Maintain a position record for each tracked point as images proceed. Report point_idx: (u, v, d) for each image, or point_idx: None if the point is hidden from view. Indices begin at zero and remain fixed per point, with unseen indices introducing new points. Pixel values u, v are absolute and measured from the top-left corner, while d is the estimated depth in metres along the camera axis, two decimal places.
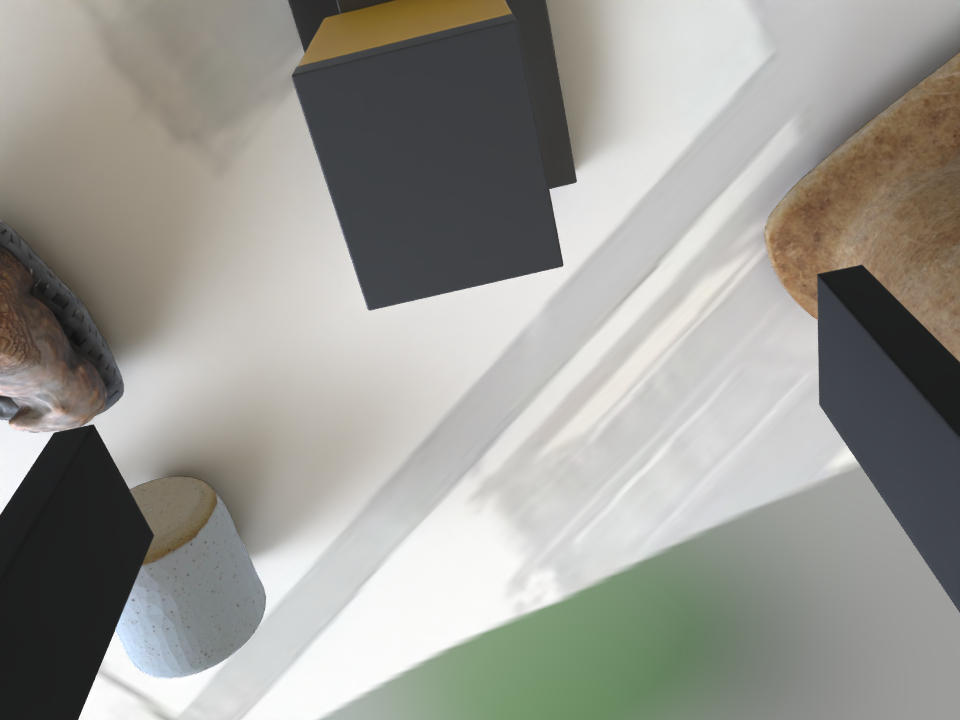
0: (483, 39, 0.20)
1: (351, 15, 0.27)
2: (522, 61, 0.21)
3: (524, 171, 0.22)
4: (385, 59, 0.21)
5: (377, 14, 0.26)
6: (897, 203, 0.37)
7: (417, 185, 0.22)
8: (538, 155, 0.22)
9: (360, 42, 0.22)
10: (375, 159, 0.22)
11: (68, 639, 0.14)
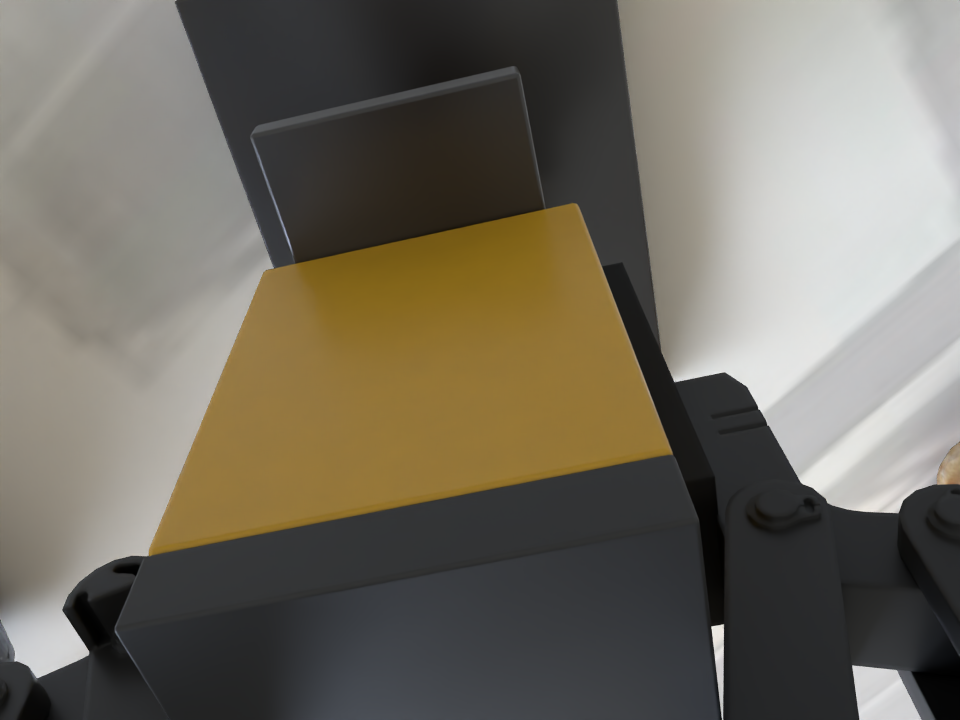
0: (607, 557, 0.08)
1: (311, 279, 0.14)
2: (702, 596, 0.08)
3: None
4: (352, 596, 0.08)
5: (357, 298, 0.13)
6: None
7: None
8: None
9: (305, 458, 0.10)
10: None
11: None
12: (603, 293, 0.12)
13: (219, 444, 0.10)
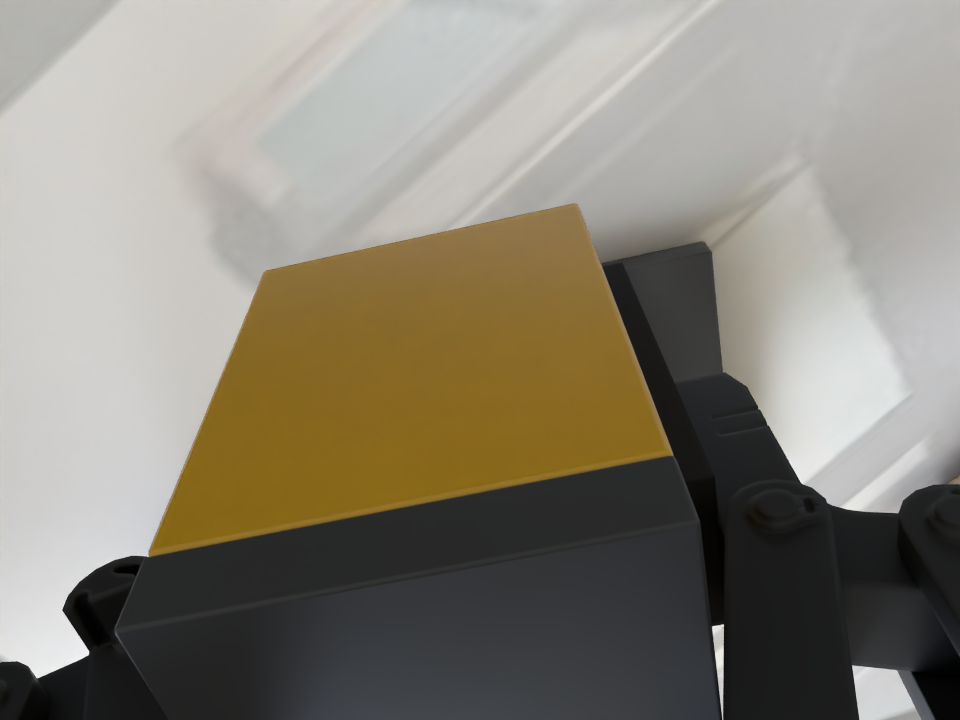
0: (608, 558, 0.08)
1: (311, 280, 0.14)
2: (703, 597, 0.08)
3: None
4: (352, 597, 0.08)
5: (357, 299, 0.13)
6: None
7: None
8: None
9: (305, 459, 0.10)
10: None
11: None
12: (603, 293, 0.12)
13: (219, 445, 0.10)
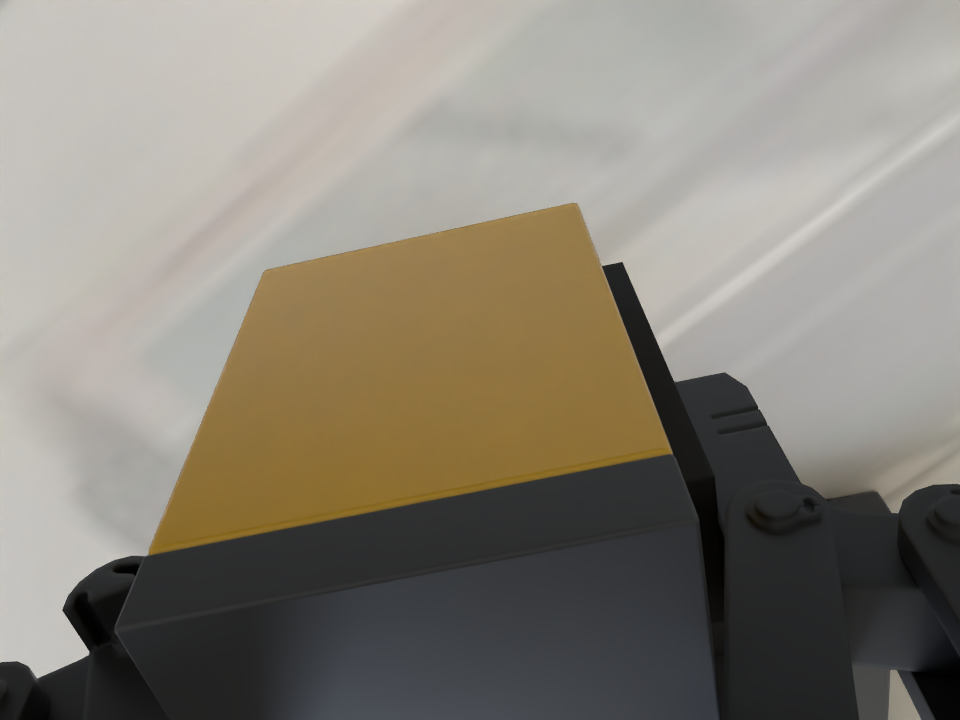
0: (608, 557, 0.08)
1: (311, 279, 0.14)
2: (702, 596, 0.08)
3: None
4: (352, 595, 0.08)
5: (357, 298, 0.13)
6: None
7: None
8: None
9: (305, 458, 0.10)
10: None
11: None
12: (603, 293, 0.12)
13: (219, 444, 0.10)
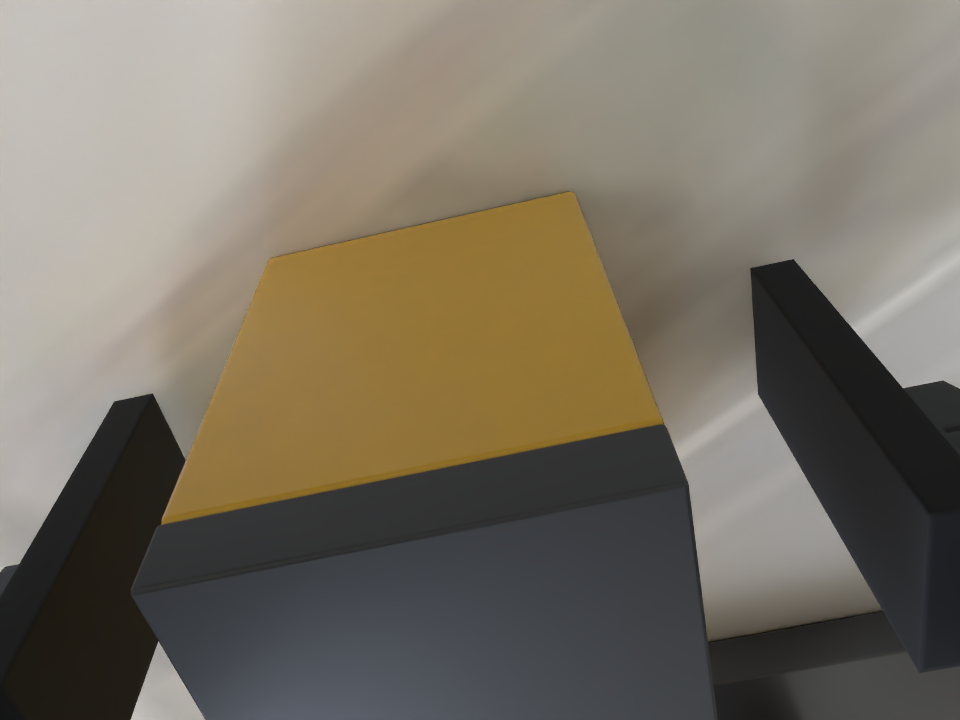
0: (601, 520, 0.08)
1: (315, 266, 0.14)
2: (692, 558, 0.09)
3: None
4: (357, 559, 0.08)
5: (360, 284, 0.13)
6: None
7: None
8: (707, 710, 0.10)
9: (311, 433, 0.10)
10: None
11: None
12: (598, 276, 0.12)
13: (228, 421, 0.11)
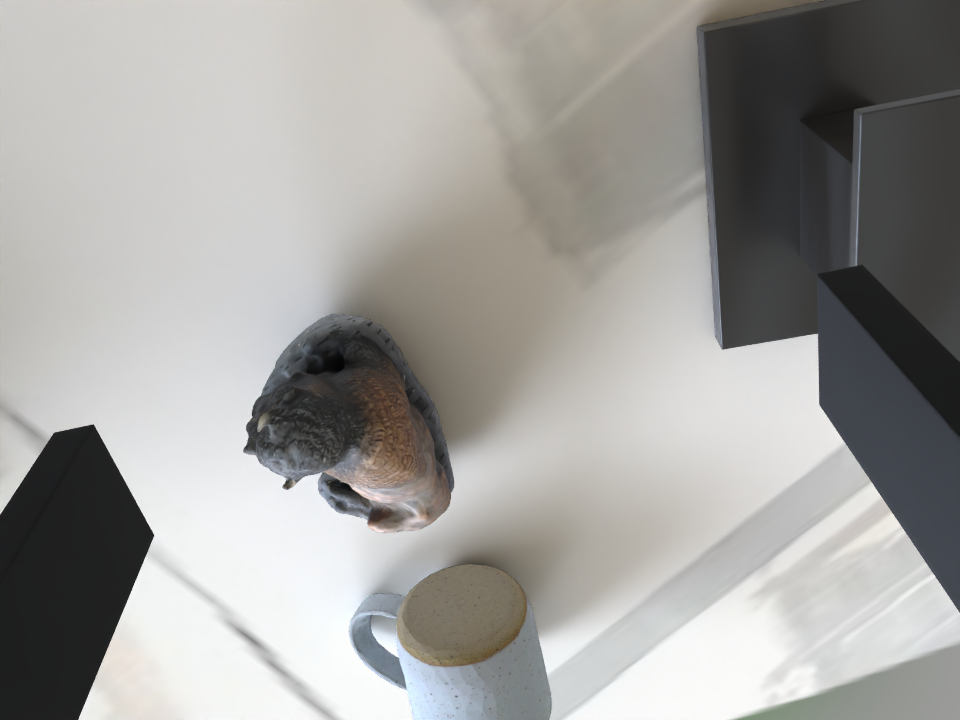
0: None
1: None
2: None
3: None
4: None
5: None
6: None
7: None
8: None
9: None
10: None
11: (68, 639, 0.14)
12: None
13: None
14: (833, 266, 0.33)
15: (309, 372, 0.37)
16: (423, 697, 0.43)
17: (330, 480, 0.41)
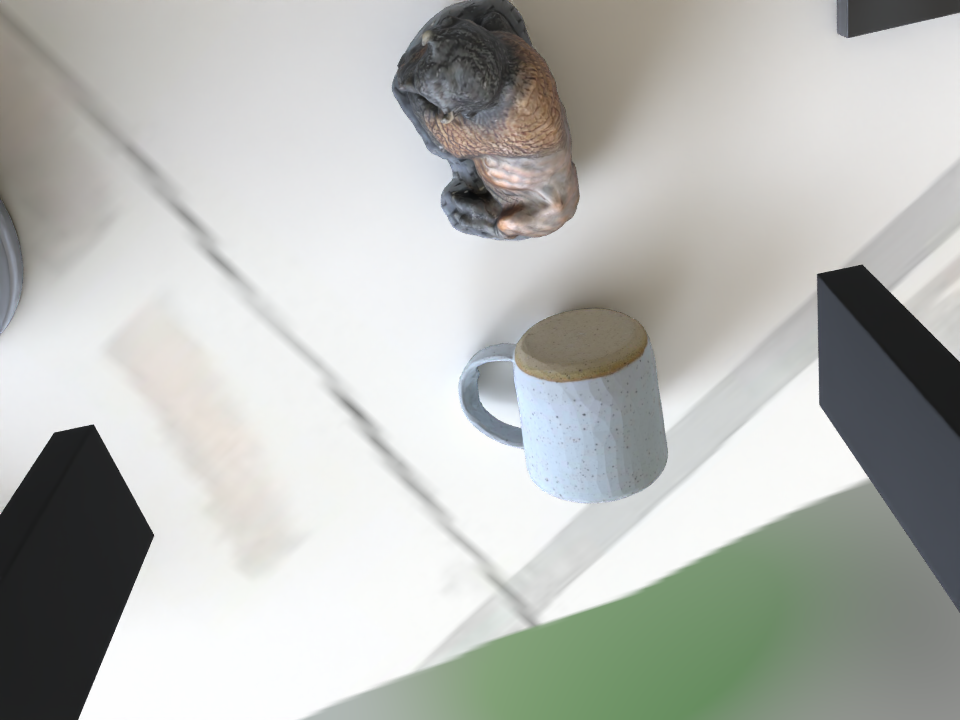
0: None
1: None
2: None
3: None
4: None
5: None
6: None
7: None
8: None
9: None
10: None
11: (68, 639, 0.14)
12: None
13: None
14: None
15: None
16: (547, 424, 0.43)
17: (454, 191, 0.41)
